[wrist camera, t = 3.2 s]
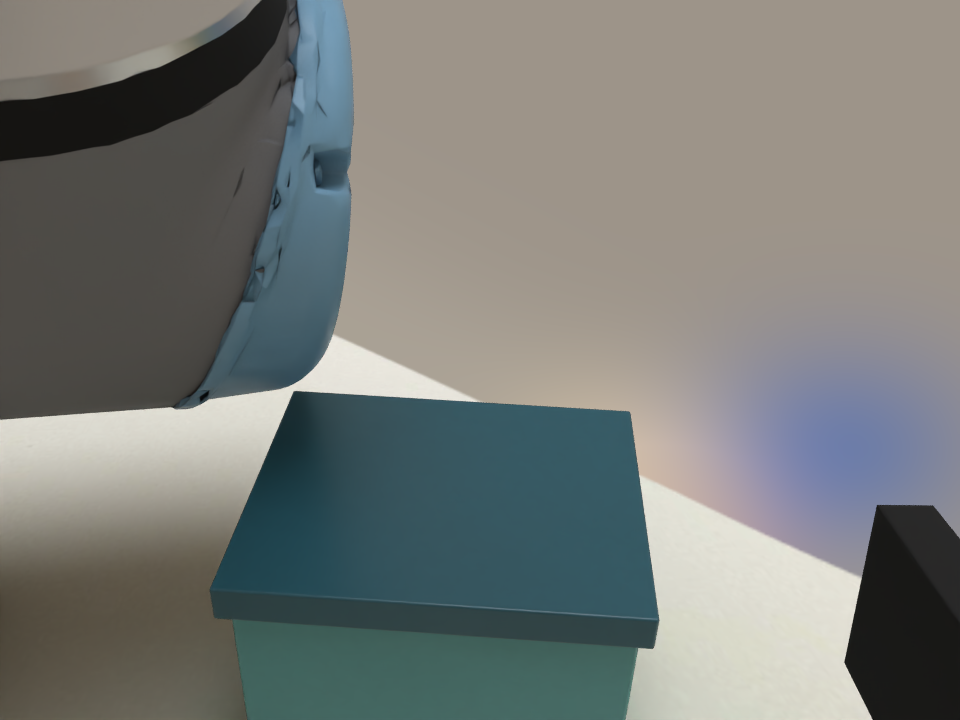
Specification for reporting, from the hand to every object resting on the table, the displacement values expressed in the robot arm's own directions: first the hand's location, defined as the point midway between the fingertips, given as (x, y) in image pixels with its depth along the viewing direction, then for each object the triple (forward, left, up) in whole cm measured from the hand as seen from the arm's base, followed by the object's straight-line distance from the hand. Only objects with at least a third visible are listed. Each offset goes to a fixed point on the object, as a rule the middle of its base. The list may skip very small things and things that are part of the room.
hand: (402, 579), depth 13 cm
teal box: (-9, +5, -17) cm, 19 cm away
